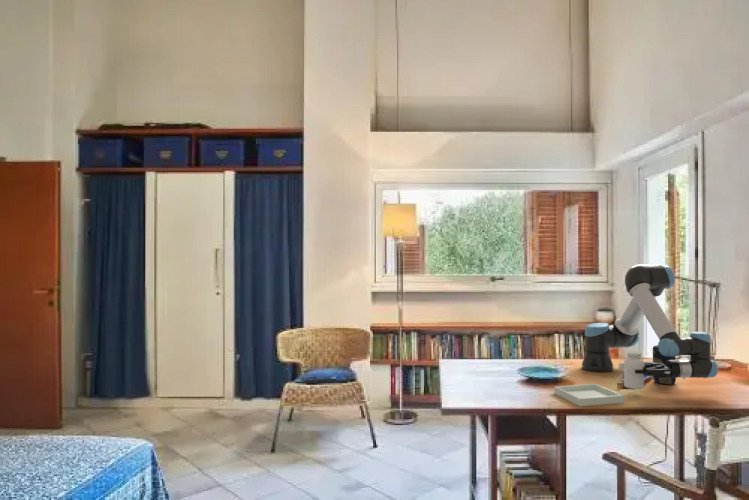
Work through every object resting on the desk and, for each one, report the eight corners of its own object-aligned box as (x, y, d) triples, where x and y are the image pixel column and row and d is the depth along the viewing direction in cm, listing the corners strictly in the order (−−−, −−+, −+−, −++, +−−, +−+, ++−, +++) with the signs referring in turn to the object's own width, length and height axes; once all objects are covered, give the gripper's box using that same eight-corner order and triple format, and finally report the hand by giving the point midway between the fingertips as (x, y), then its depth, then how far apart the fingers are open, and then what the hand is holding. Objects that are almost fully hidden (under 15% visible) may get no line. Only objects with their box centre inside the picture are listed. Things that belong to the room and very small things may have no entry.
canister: (678, 385, 255) (678, 346, 254) (656, 385, 256) (655, 345, 256) (672, 380, 264) (671, 342, 264) (650, 379, 266) (650, 342, 266)
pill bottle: (635, 390, 236) (635, 355, 236) (619, 386, 243) (619, 351, 243) (648, 388, 239) (648, 353, 239) (633, 383, 247) (633, 350, 246)
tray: (554, 393, 245) (554, 386, 245) (595, 390, 249) (595, 383, 249) (579, 406, 225) (579, 398, 225) (624, 402, 229) (624, 395, 229)
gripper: (689, 383, 230) (632, 383, 231) (666, 371, 250) (614, 371, 252) (689, 365, 230) (632, 365, 231) (666, 354, 250) (613, 354, 252)
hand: (622, 368), depth 241 cm, fingers closed on pill bottle, 8 cm apart
